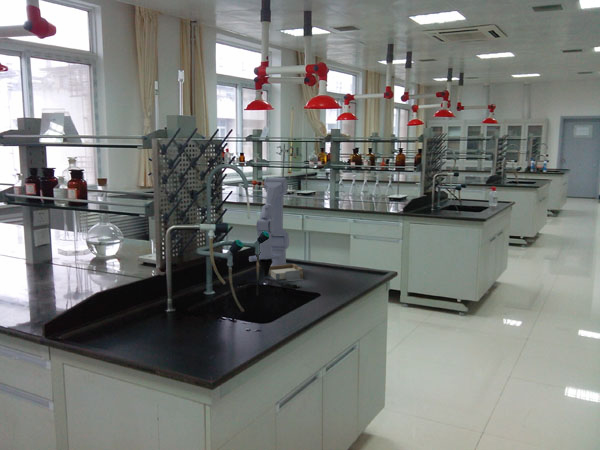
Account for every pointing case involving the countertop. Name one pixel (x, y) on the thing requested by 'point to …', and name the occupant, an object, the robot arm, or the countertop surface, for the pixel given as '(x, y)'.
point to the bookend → (293, 275)
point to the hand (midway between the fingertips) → (265, 275)
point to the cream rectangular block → (280, 273)
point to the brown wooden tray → (286, 268)
